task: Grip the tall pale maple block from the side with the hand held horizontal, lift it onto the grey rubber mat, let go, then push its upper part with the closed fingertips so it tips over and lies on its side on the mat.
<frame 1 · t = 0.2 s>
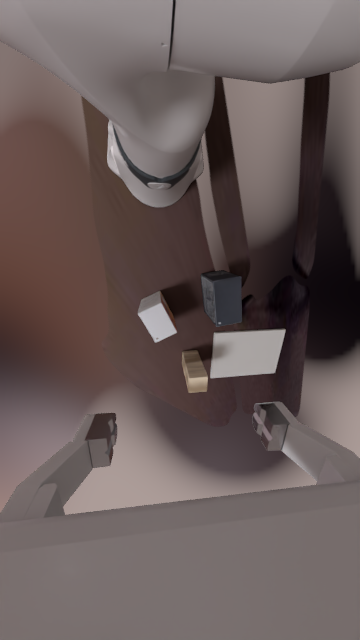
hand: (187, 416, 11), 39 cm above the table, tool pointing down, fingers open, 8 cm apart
small box 2: (213, 291, 49), on the table
rubber mat: (246, 353, 58), on the table
maple block: (189, 356, 56), on the table
small box: (157, 307, 49), on the table
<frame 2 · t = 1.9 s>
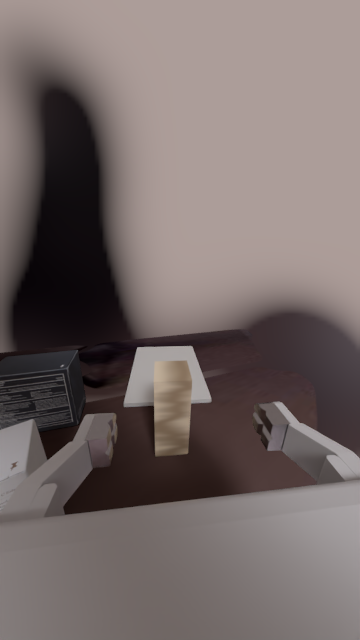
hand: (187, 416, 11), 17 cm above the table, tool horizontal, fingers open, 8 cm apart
small box 2: (49, 417, 31), on the table
rubber mat: (166, 370, 44), on the table
maple block: (170, 440, 27), on the table
small box: (5, 543, 17), on the table
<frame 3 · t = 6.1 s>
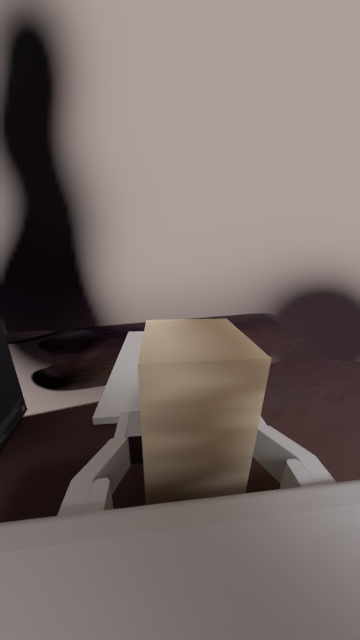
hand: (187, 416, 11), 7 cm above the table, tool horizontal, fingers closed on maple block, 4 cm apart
rubber mat: (170, 361, 29), on the table
maple block: (186, 507, 12), on the table, touching gripper
when the fingers open (9 cm above the table, at t = 10.3 s): maple block drops 1 cm, resting on rubber mat.
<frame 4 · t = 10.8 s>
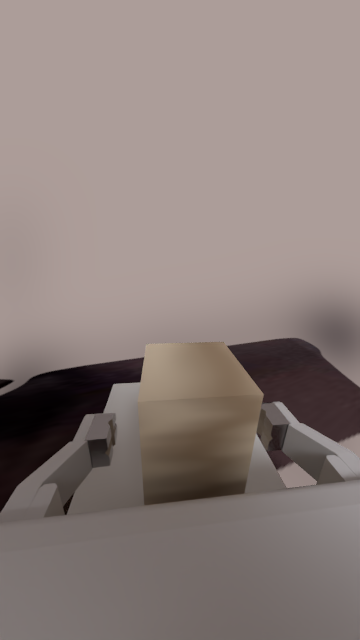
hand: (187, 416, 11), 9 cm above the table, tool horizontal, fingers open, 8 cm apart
rubber mat: (179, 465, 16), on the table
maple block: (185, 521, 12), point 1 cm above the table, touching rubber mat
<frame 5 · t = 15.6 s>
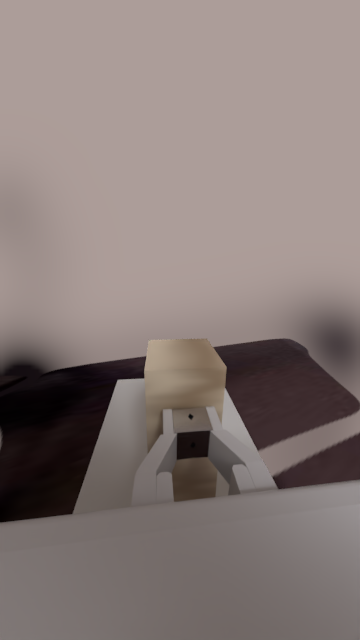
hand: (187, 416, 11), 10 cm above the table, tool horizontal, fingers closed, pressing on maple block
rubber mat: (175, 447, 19), on the table
maple block: (179, 485, 15), point 1 cm above the table, touching gripper, rubber mat
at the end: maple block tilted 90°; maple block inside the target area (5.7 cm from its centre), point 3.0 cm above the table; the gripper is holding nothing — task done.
